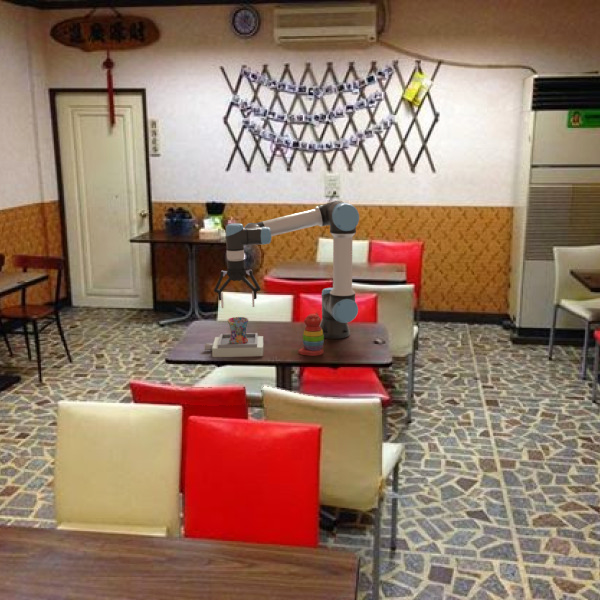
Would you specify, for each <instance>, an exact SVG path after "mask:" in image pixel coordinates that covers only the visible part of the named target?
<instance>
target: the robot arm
mask: <svg viewBox="0 0 600 600" xmlns="http://www.w3.org/2000/svg"><path fill="white" fill-rule="evenodd" d="M359 221H360V214H359V211H358V209H357V207H355V206H354V205H353V204H351V203H349V202H344V201H341V200H333V201H330V202H327V203H323V204H320V205H316V206H314V208H313V209H309V210H305V211H300V212H297V213H292V214H288V215H283V216H279V217H276V218H272V219H271V218H270V219H267V220H262V221H259V222H258V221H257V222H249V223H247V224H245V226H244V225H243V224H242V223H240V222H237V223H236V222H235V223H228V224H226V226H225V241H226V243H225V244H226V260H227V261H226V265H227V270H223V269H222V270H221V271H220V274H219V278H218V281H217V283H216V284H215V286H214V287H215V288H214V289H213V292H214V293H217V294H218V296H217V297H218V301H220V303H221V304H220V305H221V309H224V306H225V304H224V292H223V291H224V289H225V288H226V287H227V286H228V285H229V283H230V282H231V281H233V282H236V281H237V282H238V281H240V282H241V281H243V282H244V283H245V284H246V285H247V287H248V288H250V289H251V290H252V291H251V298H252V300H251V302H252V303H251V304H252V308H255V300H257V297H258V295H257V293H258V292H259V291H261V286H260V285H259V283H258V280H257V279H256V278H255V277H256V276H255V275H254V274H253V270H252V269H249V270H248V269H247V270H246V263H245V261H246V260H245V246H258V245H259V246H260V245H262V246H264V245H269V244H270V243H271V242H272V237H275V236H278V235H284V234H287V233H290V232H294V231H298V230H302V229H304V230H305V229H308V228H311V227H315V226H318V227H321V228H322V227H325V226H326V227H327V226H329V234H330V235H331V236H332V237H333V238H332V239H333V242H332V243H333V244H332V247H333V248H332V250H333V255H332V256H333V257H332V261H333V262H332V263H333V264H332V267H333V268H332V275H333V276H332V287H326V288H323V289H322V290H321V322H320V325H319V326H320V327H321V329H322V330H323V335H324V339H329V340H330V339H332V340H337V339H338V340H339V339H345V338H347V337H348V338H349V337H350V333H351V331H350V328H349V327H350V326H349V324H348V323H351V322H352V321H353V320H355V319H356V317H357V315H358V313H359V307H358V304H357V302H356V291H355V290H354V289H353V237H354V236H355V235H356V233H357V226H358V225H359ZM246 274H247V275H248V276H249V277H250V279H251V280H252V282H253V283H252V282H250V281H249V280H248V279H247V278H246ZM226 275H227V276H228V278H227V279H226V281H225V282H224V283H223V284H222V286H221V283H222V281H223V278H224V277H226ZM253 284H254V285H253ZM220 286H221V287H220ZM219 287H220V288H219Z"/></svg>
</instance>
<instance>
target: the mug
mask: <svg viewBox="0 0 600 600" xmlns="http://www.w3.org/2000/svg"><path fill="white" fill-rule="evenodd" d="M227 322H228V325H229V328H230V334H231V337H230V340H229V342H230V343H232V344H244V343H247V342H248V339H247V336H246V333H247V326H248V322H249V318H247V317H244V316H234V317H233V316H232V317H230V318H228V319H227Z"/></svg>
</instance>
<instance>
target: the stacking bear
mask: <svg viewBox="0 0 600 600" xmlns="http://www.w3.org/2000/svg"><path fill="white" fill-rule="evenodd" d="M321 320H322V318H321V317H320V316H319V313H318V312H316V313H310V314H308V315H306V317H305V319H304V321H303V322H304V324H305V326H304V330H303V334H302V343H303V347H302V348H299V349H298V351H297V353H298V354H299V355H303V356H321V355H323V354H324V348H323V347H324V342H325V338H324V335H323V330H322V329H321V327H320V324H321Z"/></svg>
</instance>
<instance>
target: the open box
mask: <svg viewBox="0 0 600 600" xmlns="http://www.w3.org/2000/svg"><path fill="white" fill-rule="evenodd" d="M258 334H259V333H258V332H255V333H254V332H248V333H247V332H246V336H247V339H248V342H247V343H244V344H232V343H230V342H229V340H230V337H231V333H220V334H219V336H215V337H214V341H213V343H204V351H212V352H211V353H212V358H233V357H235V358H237V357H263V356H264V336H263V335H258Z"/></svg>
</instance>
